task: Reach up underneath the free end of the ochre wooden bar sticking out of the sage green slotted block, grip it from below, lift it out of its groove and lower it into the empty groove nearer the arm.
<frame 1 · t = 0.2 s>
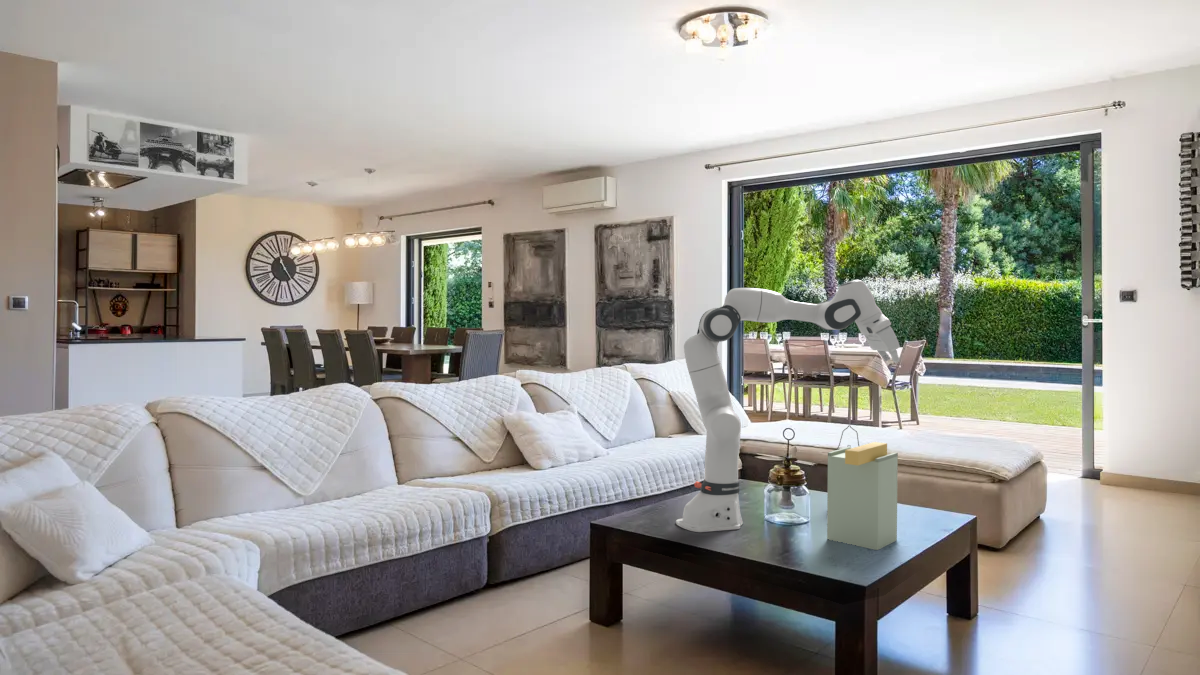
hand: (892, 361, 255), 54 cm above the table, tool tilted 30°, fingers open, 8 cm apart
lantern: (848, 509, 278), on the table
bar: (866, 459, 232), point 26 cm above the table, touching sage green slotted block
sage green slotted block: (861, 539, 239), on the table
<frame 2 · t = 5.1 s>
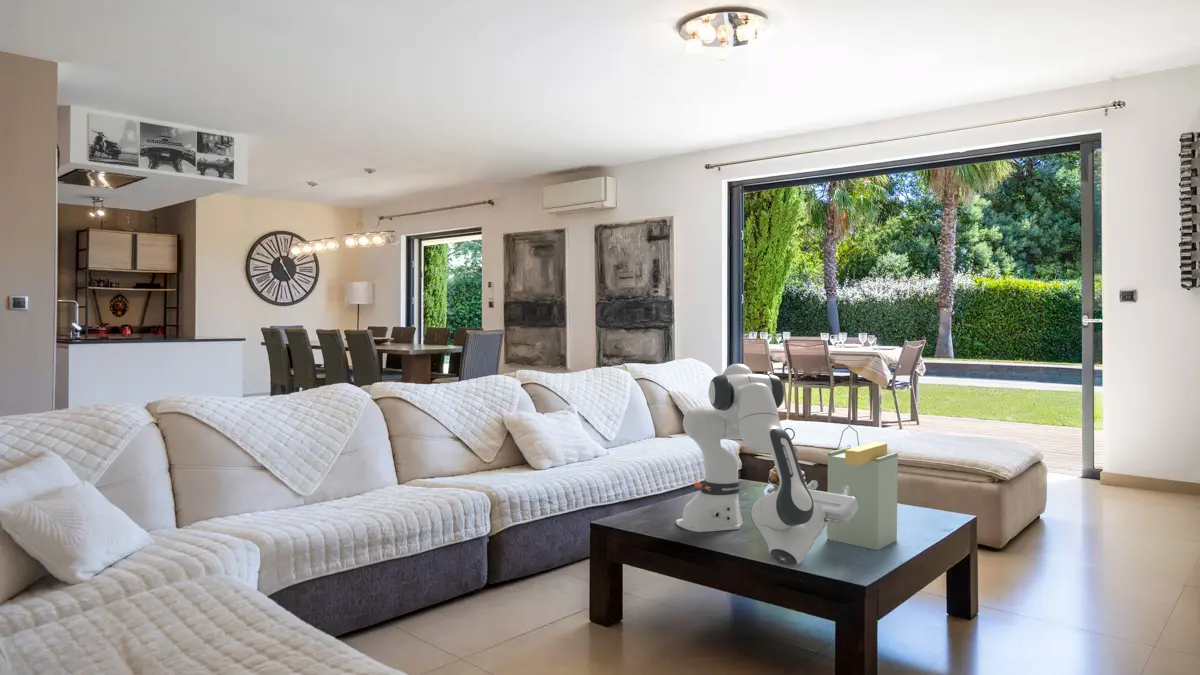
hand: (830, 485, 215), 22 cm above the table, tool pointing upward, fingers open, 8 cm apart
nothing on the table moved.
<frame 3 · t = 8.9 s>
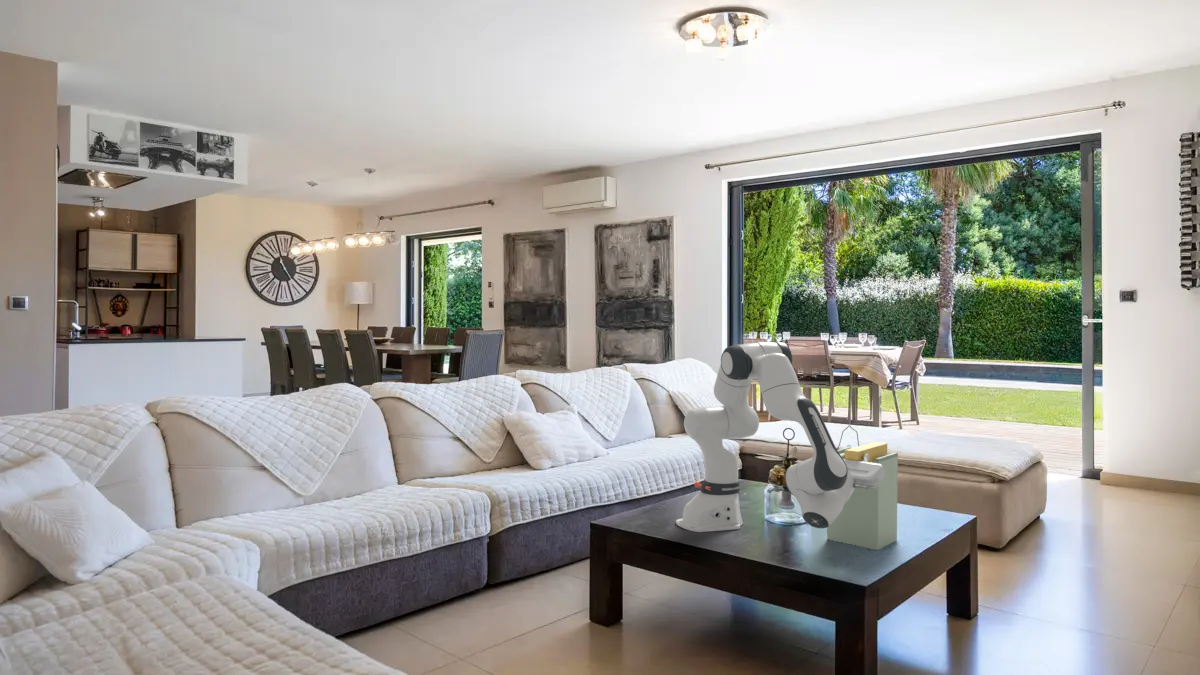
hand: (857, 454, 227), 28 cm above the table, tool pointing upward, fingers closed on bar, 4 cm apart
bar: (866, 459, 232), point 26 cm above the table, touching gripper, sage green slotted block
everything else where it was.
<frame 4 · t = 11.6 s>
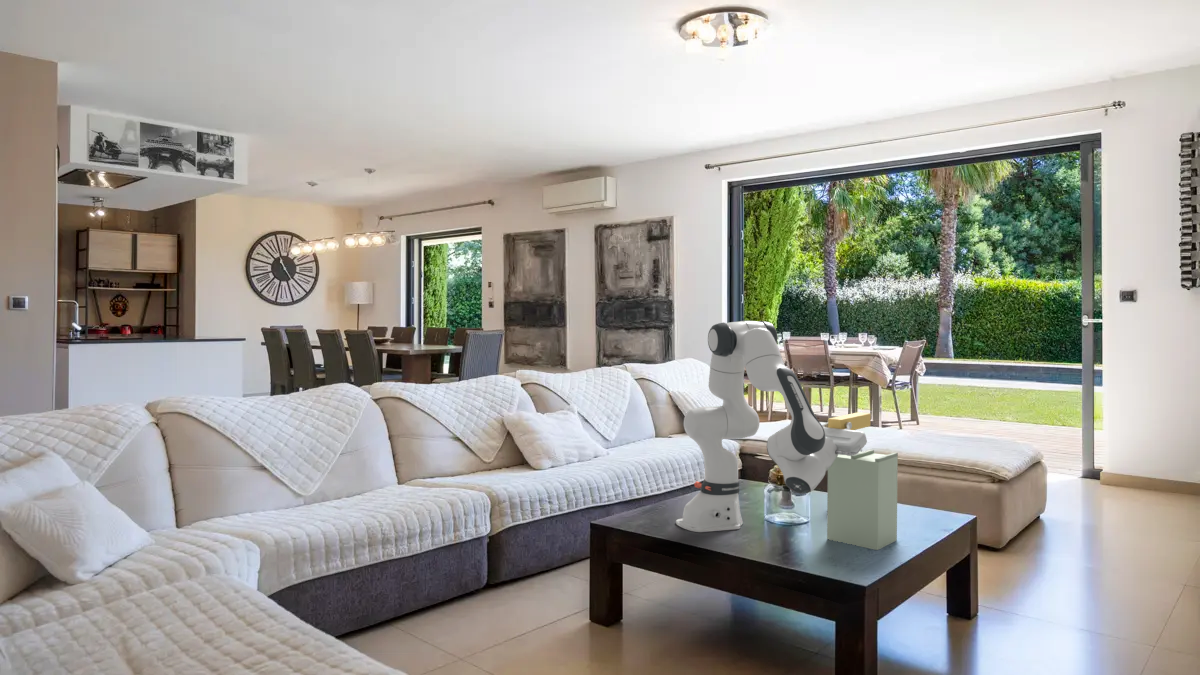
hand: (840, 423, 231), 37 cm above the table, tool pointing upward, fingers closed on bar, 4 cm apart
bar: (849, 429, 235), point 35 cm above the table, touching gripper
everything else where it was.
when the fingers open (29 cm above the table, at t = 14.4 s): bar stays where it is, resting on sage green slotted block.
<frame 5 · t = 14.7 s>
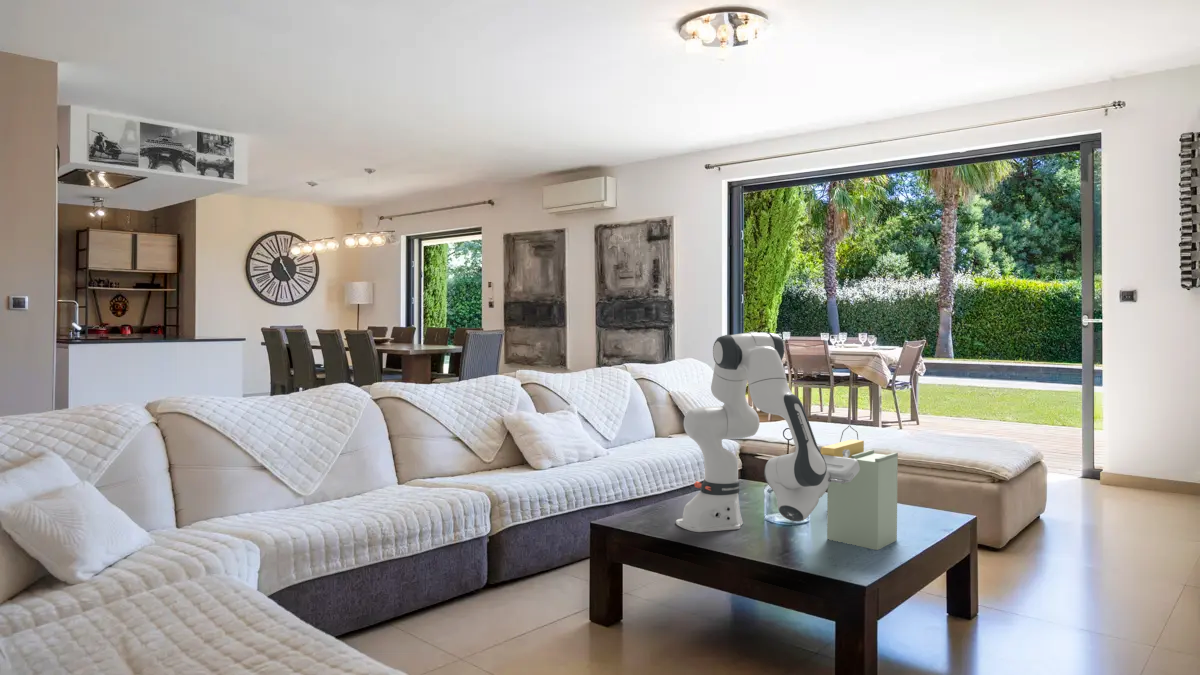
hand: (834, 449, 232), 29 cm above the table, tool pointing upward, fingers open, 7 cm apart
bar: (843, 456, 237), point 26 cm above the table, touching sage green slotted block
everything else where it was.
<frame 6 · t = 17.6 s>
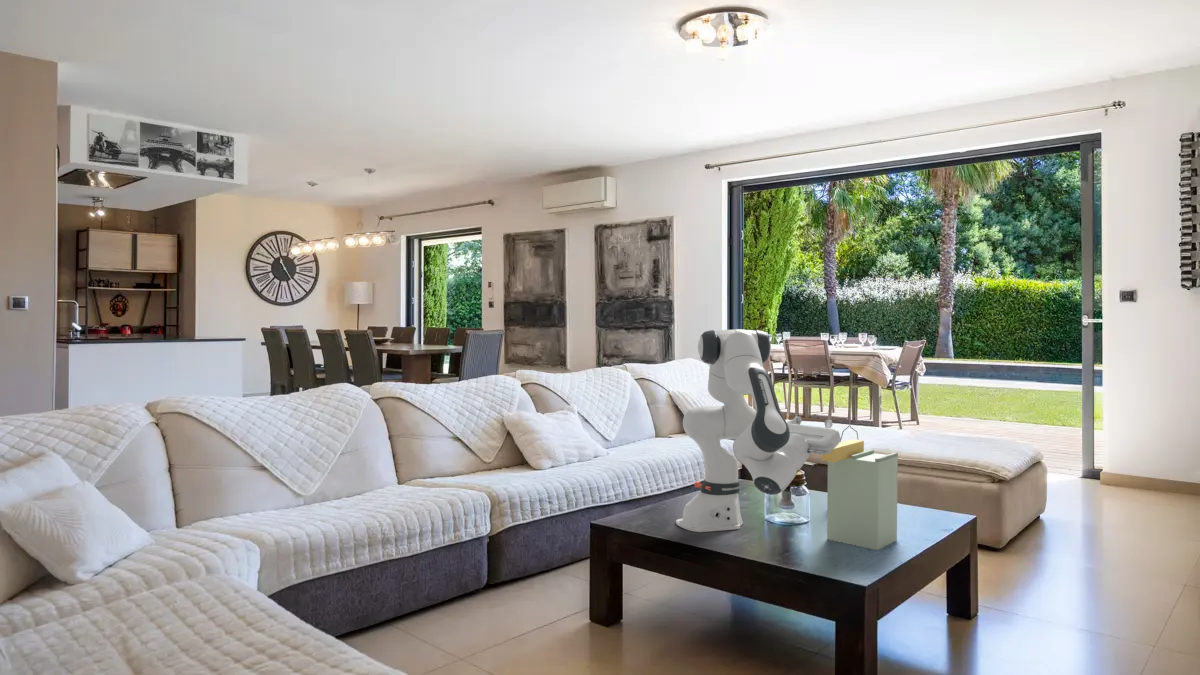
hand: (814, 420, 220), 39 cm above the table, tool pointing upward, fingers open, 8 cm apart
nothing on the table moved.
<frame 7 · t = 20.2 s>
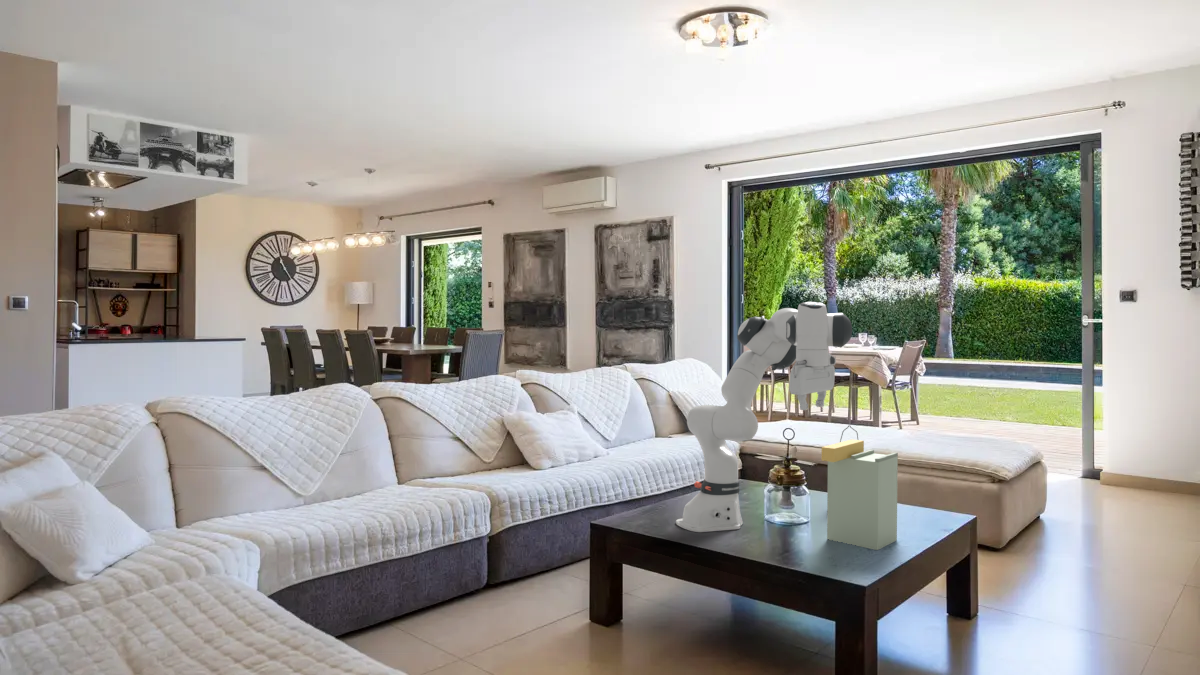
hand: (812, 408, 219), 43 cm above the table, tool pointing down, fingers open, 8 cm apart
nothing on the table moved.
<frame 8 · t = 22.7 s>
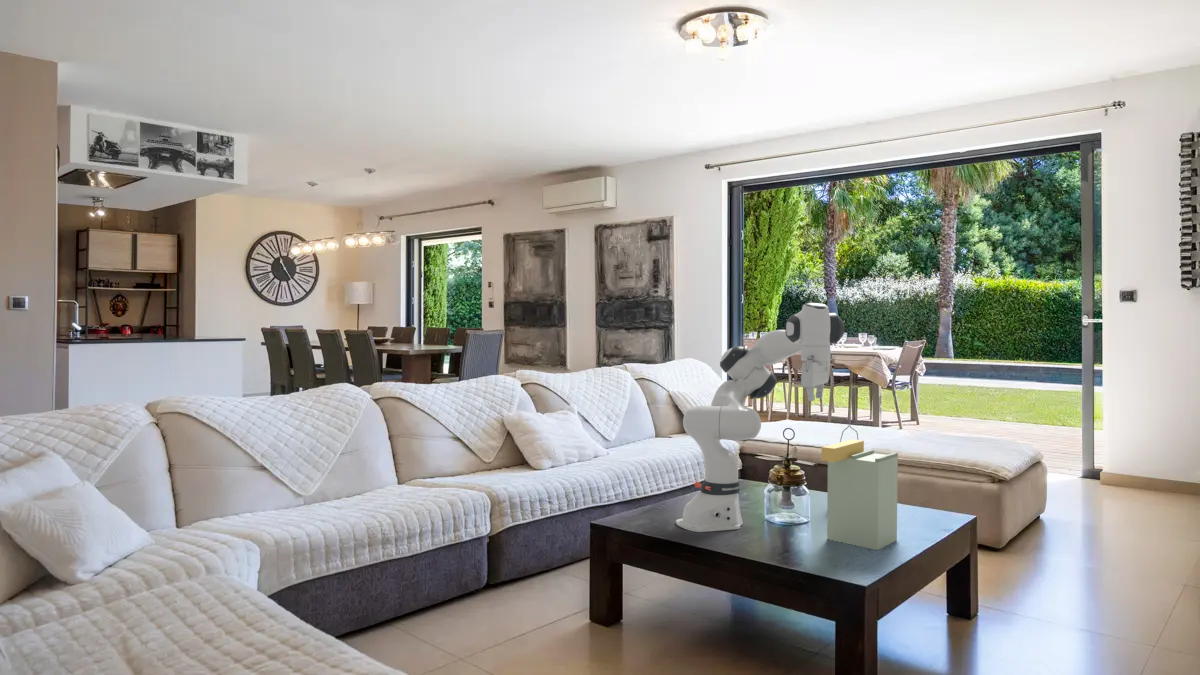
hand: (815, 399, 241), 43 cm above the table, tool pointing down, fingers open, 8 cm apart
nothing on the table moved.
at the end: bar inside the target area on the sage green slotted block (0.4 cm from its centre), point 26.0 cm above the sage green slotted block's base; bar tilted 0°; the gripper is holding nothing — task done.
